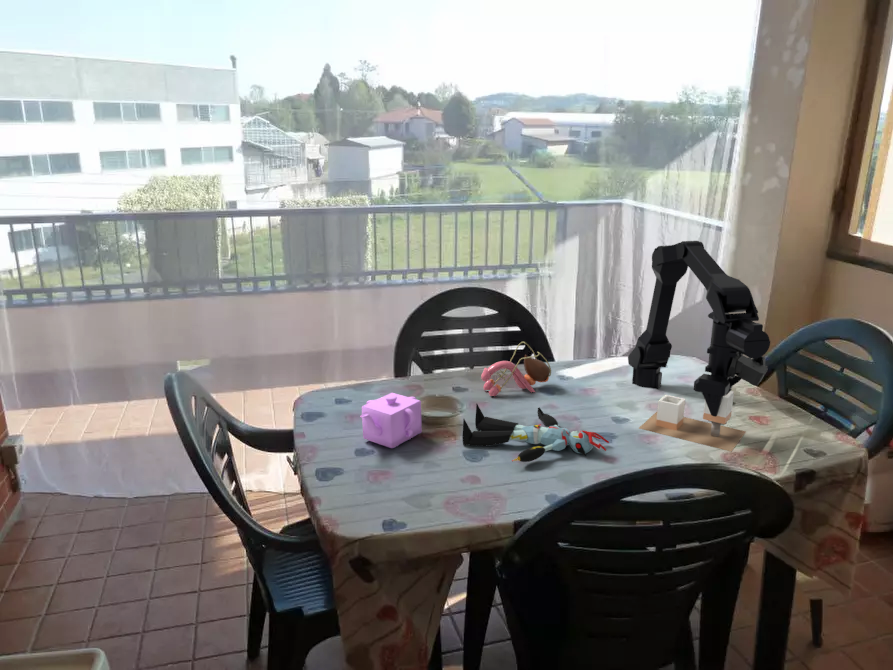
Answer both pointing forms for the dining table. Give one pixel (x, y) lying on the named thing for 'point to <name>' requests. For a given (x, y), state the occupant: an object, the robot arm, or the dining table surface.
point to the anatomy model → (517, 373)
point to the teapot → (391, 419)
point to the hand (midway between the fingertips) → (717, 412)
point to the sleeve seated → (670, 412)
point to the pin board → (699, 432)
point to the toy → (528, 435)
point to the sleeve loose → (721, 410)
